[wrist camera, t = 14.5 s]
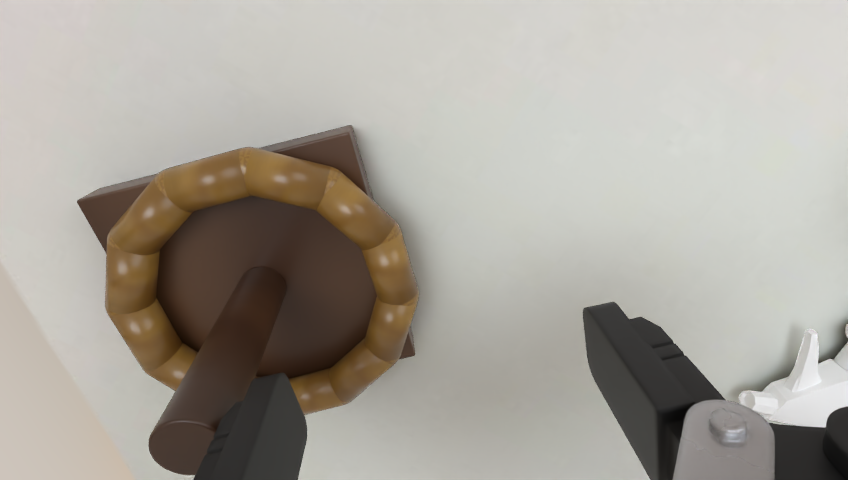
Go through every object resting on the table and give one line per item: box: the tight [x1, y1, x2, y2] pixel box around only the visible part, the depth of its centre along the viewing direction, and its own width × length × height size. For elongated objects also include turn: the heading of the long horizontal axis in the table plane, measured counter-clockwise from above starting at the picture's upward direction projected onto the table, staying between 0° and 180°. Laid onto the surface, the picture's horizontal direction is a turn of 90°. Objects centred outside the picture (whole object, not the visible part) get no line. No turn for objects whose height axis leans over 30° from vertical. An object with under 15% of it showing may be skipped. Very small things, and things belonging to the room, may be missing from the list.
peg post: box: [77, 125, 415, 475], centre depth 16 cm, size 10×10×10 cm
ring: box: [105, 147, 419, 415], centre depth 18 cm, size 11×11×2 cm
